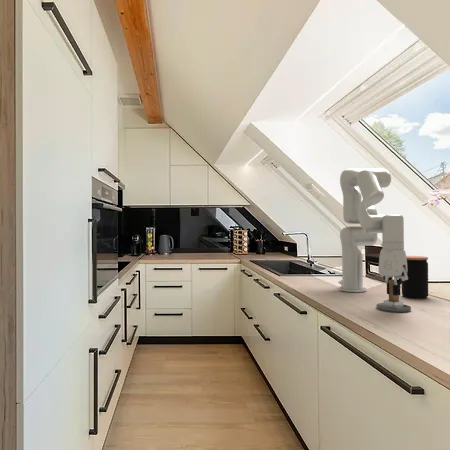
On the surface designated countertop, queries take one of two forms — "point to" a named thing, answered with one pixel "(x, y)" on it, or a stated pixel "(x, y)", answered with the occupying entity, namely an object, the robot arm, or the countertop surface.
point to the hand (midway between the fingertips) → (393, 294)
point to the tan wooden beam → (392, 297)
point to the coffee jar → (416, 278)
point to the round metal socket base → (393, 307)
